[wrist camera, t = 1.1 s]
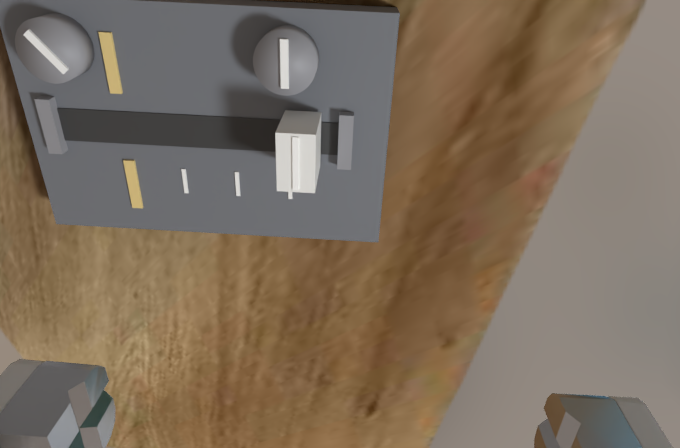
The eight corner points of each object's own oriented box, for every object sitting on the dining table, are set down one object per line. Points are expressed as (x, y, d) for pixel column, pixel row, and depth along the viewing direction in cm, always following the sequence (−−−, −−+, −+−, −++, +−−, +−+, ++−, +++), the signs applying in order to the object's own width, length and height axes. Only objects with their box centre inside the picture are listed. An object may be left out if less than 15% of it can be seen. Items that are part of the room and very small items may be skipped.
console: (18, -12, 34) (-34, -3, 30) (397, 7, 34) (401, 18, 29) (75, 206, 43) (41, 238, 38) (377, 223, 42) (378, 257, 38)
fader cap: (285, 110, 34) (274, 133, 30) (321, 111, 34) (315, 135, 30) (286, 163, 36) (276, 191, 32) (320, 165, 36) (314, 193, 32)
